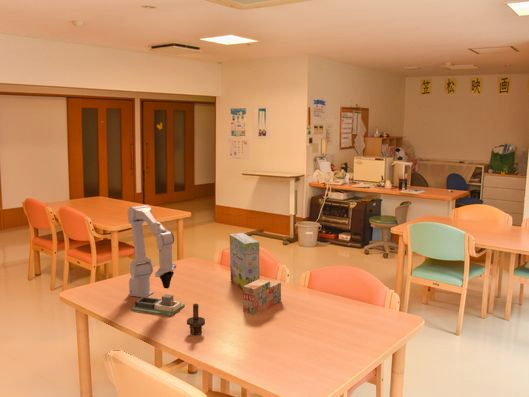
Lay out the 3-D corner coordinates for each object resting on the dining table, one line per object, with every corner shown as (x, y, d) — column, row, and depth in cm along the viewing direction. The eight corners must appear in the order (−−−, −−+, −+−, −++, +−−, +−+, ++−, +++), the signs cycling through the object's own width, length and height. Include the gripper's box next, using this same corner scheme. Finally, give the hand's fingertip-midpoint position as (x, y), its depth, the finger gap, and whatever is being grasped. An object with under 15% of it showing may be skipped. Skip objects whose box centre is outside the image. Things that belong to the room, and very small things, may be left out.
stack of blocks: (270, 298, 242) (270, 273, 240) (281, 301, 238) (281, 276, 236) (242, 312, 224) (242, 285, 223) (254, 315, 221) (254, 288, 219)
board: (131, 310, 225) (130, 304, 225) (147, 300, 238) (147, 294, 237) (170, 316, 219) (169, 310, 218) (184, 306, 231) (184, 299, 230)
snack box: (228, 281, 266) (228, 233, 262) (244, 278, 270) (243, 232, 266) (244, 294, 247) (244, 243, 243) (260, 291, 251) (260, 241, 247)
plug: (161, 308, 225) (161, 296, 224) (165, 305, 228) (165, 294, 228) (169, 309, 224) (169, 297, 223) (173, 306, 227) (173, 295, 226)
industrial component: (193, 338, 197) (192, 309, 196) (182, 332, 203) (182, 304, 201) (212, 331, 204) (212, 303, 202) (201, 326, 209) (201, 298, 207)
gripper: (164, 264, 216) (165, 294, 218) (181, 255, 229) (182, 283, 232) (150, 262, 218) (151, 292, 221) (168, 253, 232) (168, 282, 234)
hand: (166, 287), depth 226 cm, fingers closed
